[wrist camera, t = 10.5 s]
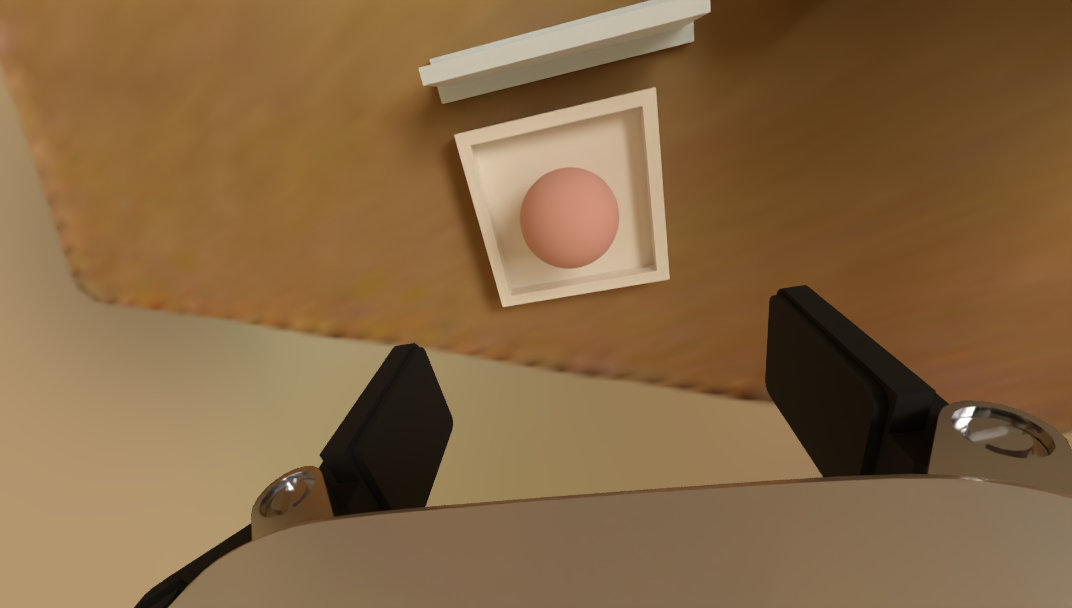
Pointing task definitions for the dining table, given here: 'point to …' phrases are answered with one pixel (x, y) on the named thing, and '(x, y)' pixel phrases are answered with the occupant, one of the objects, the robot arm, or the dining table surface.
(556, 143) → the dish
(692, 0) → the divider wall
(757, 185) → the dining table surface
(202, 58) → the dining table surface
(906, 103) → the dining table surface
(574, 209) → the ball
